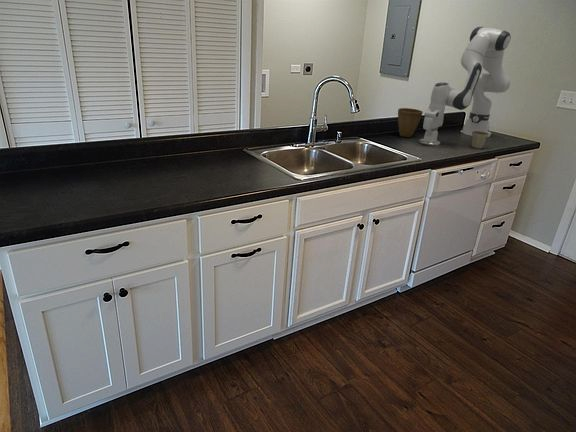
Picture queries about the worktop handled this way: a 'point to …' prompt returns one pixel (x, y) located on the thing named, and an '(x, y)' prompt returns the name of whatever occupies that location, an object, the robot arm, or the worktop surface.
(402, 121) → the plant pot
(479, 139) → the flower pot
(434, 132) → the knob
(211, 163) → the worktop surface
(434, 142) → the pot lid
